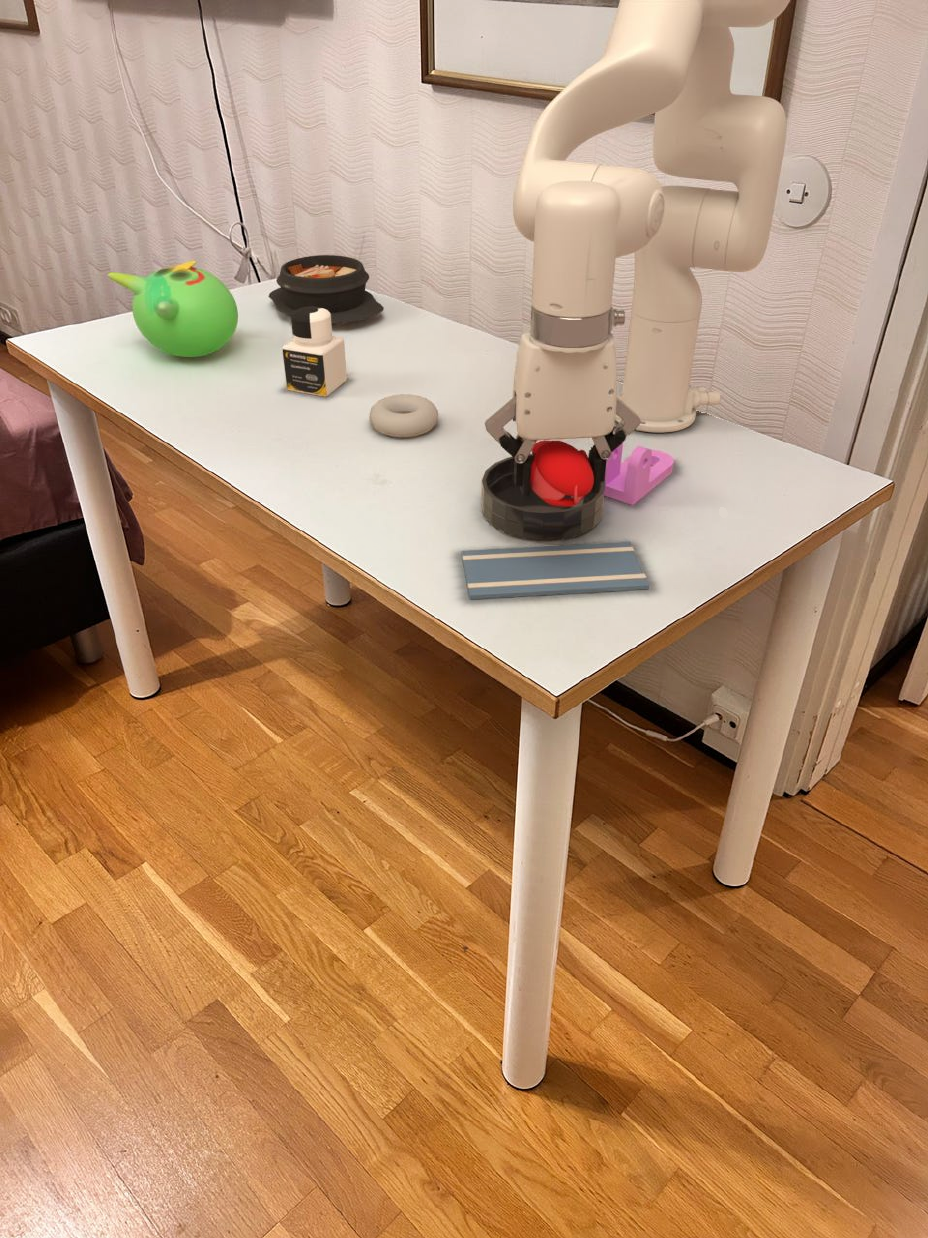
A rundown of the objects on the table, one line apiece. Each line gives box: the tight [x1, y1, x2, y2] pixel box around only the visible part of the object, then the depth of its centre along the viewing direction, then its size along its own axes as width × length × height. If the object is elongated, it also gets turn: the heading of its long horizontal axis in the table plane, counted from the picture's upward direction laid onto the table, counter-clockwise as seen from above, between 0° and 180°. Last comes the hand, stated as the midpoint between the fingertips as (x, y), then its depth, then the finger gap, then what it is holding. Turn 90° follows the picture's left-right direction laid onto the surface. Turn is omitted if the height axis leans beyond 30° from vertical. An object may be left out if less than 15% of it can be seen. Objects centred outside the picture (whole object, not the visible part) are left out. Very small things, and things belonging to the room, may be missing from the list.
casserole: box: [268, 254, 385, 325], centre depth 173 cm, size 25×19×8 cm
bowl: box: [481, 453, 606, 542], centre depth 116 cm, size 15×15×4 cm
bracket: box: [604, 443, 675, 506], centre depth 122 cm, size 13×6×7 cm, turn 143°
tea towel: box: [461, 541, 650, 601], centre depth 106 cm, size 20×9×1 cm, turn 96°
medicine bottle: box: [281, 306, 348, 398], centre depth 145 cm, size 7×7×12 cm
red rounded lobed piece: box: [530, 440, 594, 507], centre depth 99 cm, size 8×6×6 cm
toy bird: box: [107, 260, 239, 358], centre depth 155 cm, size 18×17×15 cm
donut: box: [368, 393, 439, 438], centre depth 136 cm, size 10×4×10 cm
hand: (558, 487), depth 100 cm, fingers closed on red rounded lobed piece, 6 cm apart
